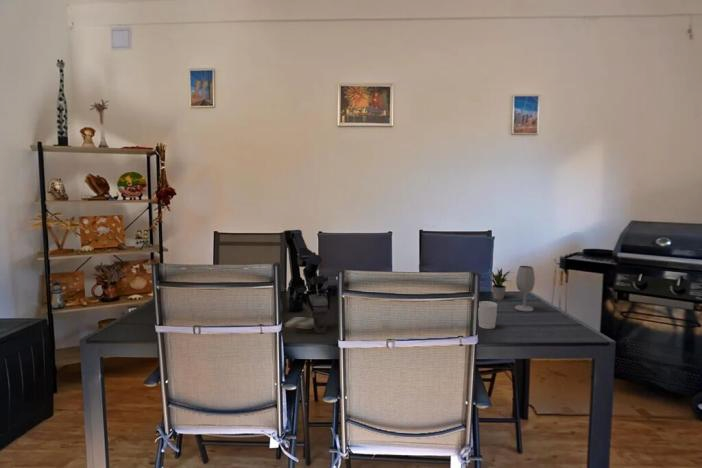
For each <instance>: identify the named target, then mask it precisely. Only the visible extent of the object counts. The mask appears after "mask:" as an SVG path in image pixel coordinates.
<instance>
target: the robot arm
mask: <svg viewBox="0 0 702 468" xmlns="http://www.w3.org/2000/svg"><path fill="white" fill-rule="evenodd" d="M281 239H282V240H283V244H284V246H285V247H286V249H287V253H288V261H289V262H288V263H289V271H290V280H289V281H288V287H287V289H286V292H285V293H286V298H287V299H288V304H289V305H288V306H289V307H288V309H287V311H289V312H299V313H300V312H302V311H304V309H305V306H306V307H307V309H308V310H310V312H312V311H313V308H312V304H311V302H312V301H311V298H310V296H313V295H315V296H316V295H317V289H316V284H317V288H318V295H324V296H325V297H326V299H327V301H328V309H327V310H330V308H331V307H330V306H331V298H332V297H335V296H336V295H337V293H338V291H339V287H338V284H328V285H327V286H326V288H324V284H325V283H327V282H328V281H329V276H328V273H322V275H318V271H319V269H320V267H321V264H322V261H323V258H322V257H321V256H320V255H318V254H316V252H313V251H312V250H311V249H309V248H308V246H307V244H306V242H305V239H304V237H303V231H302V230H301V229H289V230H284V231H283V232H282V235H281ZM300 268H303V269H302V275H303V277H304V279H303V278H302V276H301V269H300Z"/></svg>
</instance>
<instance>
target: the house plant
mask: <svg viewBox="0 0 702 468" xmlns="http://www.w3.org/2000/svg"><path fill="white" fill-rule="evenodd" d="M496 268H497V269H496V270H497V273H496V274H495V273H494V272H493V271H492V270H491V269H488V271H489V274H490V275H491V276H492V279H491V278H489V279H488V281H491V282H492V283H493V285H491V288H492V289H491V290H492V296H493V299H496V300H503V299H504V298H505V294H506V293H505V292H506V288H507V286H505V285H504V284H505V283H506V284H507V283H508V282H511V281H513V280H512V279H511V280H508V278H509V276H508V275H509V274H511V273H515V272H512V271H511V270H508V271H507V272H506V273H504V274H503V267H501V268H500V269H499V268H498V267H496ZM511 283H512V282H511Z"/></svg>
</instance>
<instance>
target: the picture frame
mask: <svg viewBox="0 0 702 468" xmlns="http://www.w3.org/2000/svg"><path fill="white" fill-rule="evenodd" d="M284 327H285V328H292V329H293V328H294V329H302V330H303V329H304V330H312V329H313V328H314V322H313V317H304V316H303V317H302V316H293V317H292V318H290V319H288V321H286V322H285V323H284Z"/></svg>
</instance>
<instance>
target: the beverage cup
mask: <svg viewBox="0 0 702 468" xmlns="http://www.w3.org/2000/svg"><path fill="white" fill-rule="evenodd" d="M316 289H317V294H315V296H313V298H312V299H311V301H310V302H311V304H312V308H313V311H311V313H312V318H313V322H314V327H313V328H314V333H316V334H323V333H326V329H327V316H328V315H327V314H328V310H329V309H328V301H327V299H326V297H325V295H324V294H318V288H317V284H316Z"/></svg>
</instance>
